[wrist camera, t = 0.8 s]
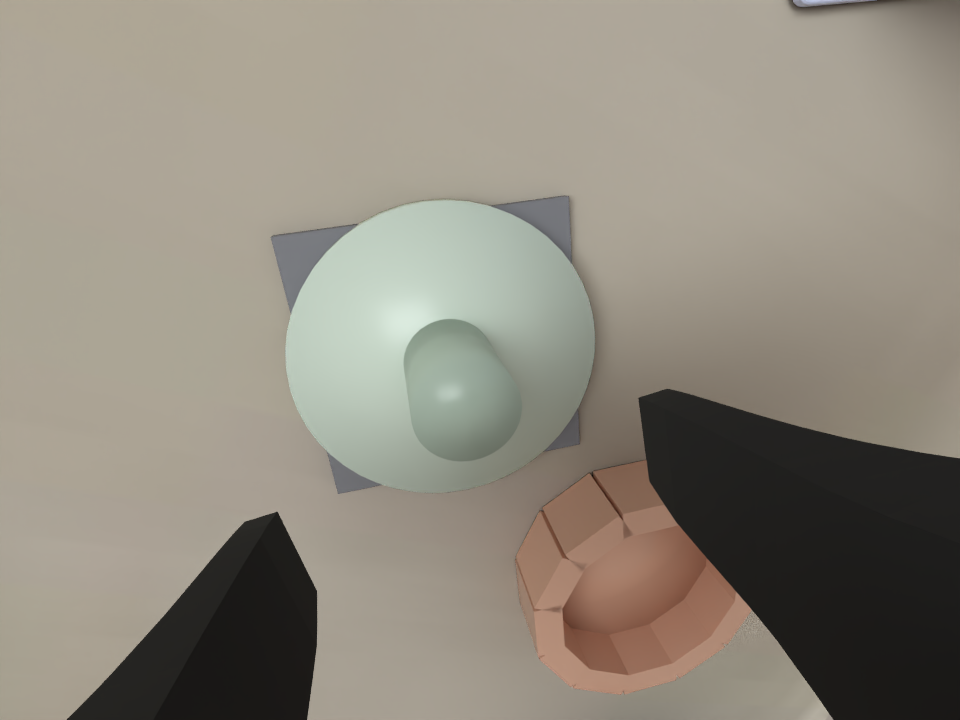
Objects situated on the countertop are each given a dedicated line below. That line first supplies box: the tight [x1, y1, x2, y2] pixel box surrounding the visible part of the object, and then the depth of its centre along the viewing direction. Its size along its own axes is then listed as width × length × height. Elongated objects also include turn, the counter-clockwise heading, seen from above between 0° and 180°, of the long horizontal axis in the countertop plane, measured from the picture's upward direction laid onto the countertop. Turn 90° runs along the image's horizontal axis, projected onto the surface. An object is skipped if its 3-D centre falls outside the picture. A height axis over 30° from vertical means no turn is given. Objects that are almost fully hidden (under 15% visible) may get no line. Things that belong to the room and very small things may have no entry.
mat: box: [271, 196, 580, 494], centre depth 19 cm, size 10×10×1 cm
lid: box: [285, 199, 595, 493], centre depth 17 cm, size 11×11×5 cm
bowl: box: [515, 460, 752, 695], centre depth 24 cm, size 10×10×3 cm
